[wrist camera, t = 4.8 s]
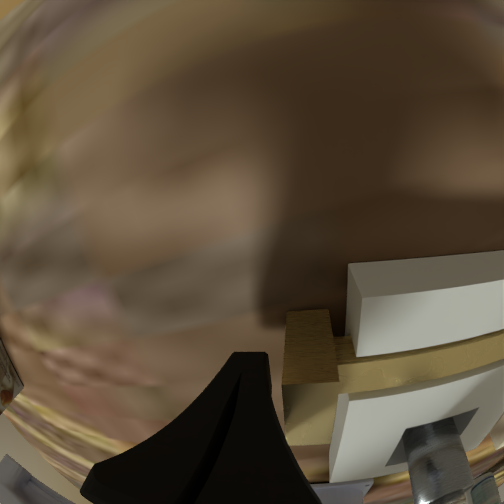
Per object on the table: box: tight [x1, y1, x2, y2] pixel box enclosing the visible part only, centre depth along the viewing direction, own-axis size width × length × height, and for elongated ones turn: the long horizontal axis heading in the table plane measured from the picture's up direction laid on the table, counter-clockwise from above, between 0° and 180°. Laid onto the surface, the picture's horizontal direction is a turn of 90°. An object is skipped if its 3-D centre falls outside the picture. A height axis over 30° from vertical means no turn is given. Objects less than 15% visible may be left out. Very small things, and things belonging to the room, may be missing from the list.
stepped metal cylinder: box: [402, 417, 474, 504], centre depth 8 cm, size 3×3×8 cm
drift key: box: [282, 309, 504, 445], centre depth 9 cm, size 4×11×4 cm, turn 97°
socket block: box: [329, 250, 504, 483], centre depth 10 cm, size 14×11×2 cm
